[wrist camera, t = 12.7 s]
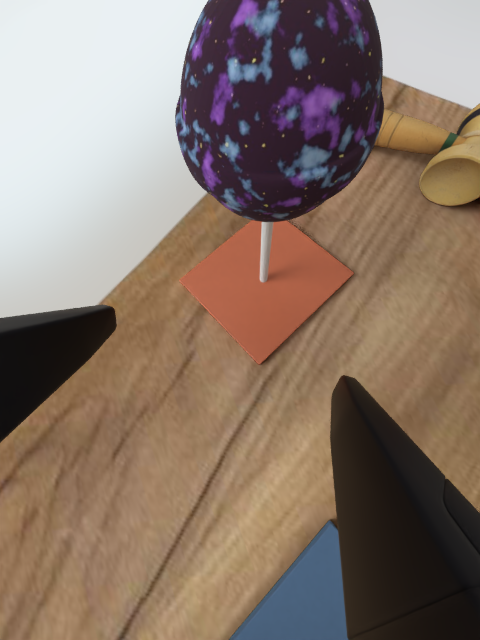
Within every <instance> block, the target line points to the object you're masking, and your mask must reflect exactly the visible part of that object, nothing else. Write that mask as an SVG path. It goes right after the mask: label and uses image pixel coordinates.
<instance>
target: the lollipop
mask: <svg viewBox="0 0 480 640" xmlns="http://www.w3.org/2000/svg"><path fill="white" fill-rule="evenodd" d="M382 68H383V67H382V50H381V42H380V35H379V30H378V26H377V23H376V19H375V16H374V13H373V10H372V8H371V5H370V2H369V0H208V2H207V4H206V5H205V7H204V9H203V11H202V12H201V15H200V17H199V19H198V21H197V23H196V26H195V28H194V30H193V33H192V36H191V38H190V42H189V45H188V48H187V52H186V56H185V61H184V67H183V72H182V79H181V95H180V97H179V100H178V103H177V108H176V115H175V118H176V130H177V136H178V141H179V144H180V148H181V151H182V154H183V157H184V160H185V162H186V164H187V166H188V168H189V170H190V172H191V174H192V176H193V177H194V178H195V180H196V181H197V182H198V184H199V185H200V186H201V187H202V188H203V189H204V190H206V191H207V192H208V193H209V194H211V195H212V196H213V197H215V198H216V199H217V200H218V201H219V202H220V203H221V204H222V205H224V206H225V207H226V208H228V209H229V210H231V211H232V212H234V213H236V214H238V215H240V216H242V217H244V218H247V219H250V220H254V221H260V222H262V228H261V255H260V281H261V282H266V281H267V278H268V268H269V259H270V249H271V240H272V231H273V222H280V221H286V220H290V219H293V218H296V217H299V216H301V215H303V214H306V213H308V212H309V211H311V210H313V209H314V208H316V207H318V206H319V205H321V204H322V203H323V202H324V201H326V200H327V199H329V198H331V197H332V196H334V195H336V194H337V193H338V192H340V191H341V190H342V189H344V188H345V187H346V186H347V185H348V184H349V183H350V182H351V181H352V180H353V179H354V178H355V177H356V175H357V174H358V173H359V171H360V170H361V168H362V167H363V165H364V164H365V162H366V160H367V158H368V156H369V155H370V153H371V151H372V149H373V147H374V144H375V142H376V139H377V137H378V134H379V131H380V128H381V125H382V121H383V114H384V101H383V96H382V92H381V88H382V72H383V71H382V70H383V69H382Z"/></svg>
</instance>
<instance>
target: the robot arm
mask: <svg viewBox="0 0 480 640" xmlns="http://www.w3.org/2000/svg"><path fill="white" fill-rule="evenodd" d="M116 326H117V324H116V315H115V310H114V308H113V307H110V306H107V305H96V306H89V307H81V308H73V309H66V310H58V311H51V312H43V313H36V314H28V315H21V316H13V317H6V318H0V442H1V441H2V440H3V439H5V438H6V437H7V436H8V435H9V434H10V433H11V432H12V431H13V430H14V429H15V428H16V427H17V426H18V425H20V424H21V423H22V422H23V421H24V420H25V419H26V418H27V417H28V416H29V415H30V414H31V413H32V412H33V411H34V410H36V409H37V408H38V407H39V406H40V405H41V404H42V403H43V402H44V401H45V400H46V399H47V398H48V397H49V396H51V395H52V394H53V393H54V392H55V391H56V390H57V389H58V388H59V387H60V386H61V385H62V384H63V383H64V382H65V381H67V380H68V379H69V378H70V377H71V376H72V375H73V374H74V373H75V372H76V371H77V370H78V369H79V368H80V367H81V366H83V365H84V364H85V363H86V362H87V361H88V360H89V359H90V358H91V357H92V356H93V355H94V353H95V352H96V351H97V350H98V349H99V348H100V347H101V346H102V344H103V343H104V342H105V341H106V340H107V339H108V338H109V337H110V335H111V334H112V333H113V332H114V331H115V329H116ZM330 441H331V454H332V466H333V478H334V489H335V501H336V513H337V524H338V536H339V548H340V559H341V571H342V583H343V594H344V606H345V618H346V629H347V638H348V640H480V513H479V512H478V511H477V510H476V509H475V508H474V507H473V505H472V504H471V503H470V502H469V501H468V500H467V499H466V498H465V497H464V496H463V495H462V494H461V493H460V492H459V491H458V489H457V488H456V487H455V486H454V485H453V484H452V483H451V482H450V481H449V480H448V479H445V475H444V474H443V473H442V472H441V471H440V470H439V469H438V468H437V467H436V466H435V465H434V463H433V462H432V461H431V460H430V459H429V458H428V457H427V456H426V455H425V454H424V453H423V452H422V450H421V449H420V448H419V447H418V446H417V445H416V444H415V443H414V442H413V441H412V440H411V438H410V437H409V436H408V435H407V434H406V433H405V432H404V431H403V430H402V429H401V428H400V427H399V425H398V424H397V423H396V422H395V421H394V420H393V419H392V418H391V417H390V416H389V415H388V414H387V412H386V411H385V410H384V409H383V408H382V407H381V406H380V405H379V404H378V403H377V402H376V400H375V399H374V398H373V397H372V396H371V395H370V394H369V393H368V392H367V391H366V390H365V389H364V387H363V386H362V385H361V384H360V383H359V382H358V381H357V380H356V379H355V378H352V377H349V376H345V375H343V376H341V377H340V379H339V381H338V383H337V385H336V387H335V389H334V391H333V393H332V401H331V431H330Z"/></svg>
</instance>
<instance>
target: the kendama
mask: <svg viewBox="0 0 480 640" xmlns="http://www.w3.org/2000/svg"><path fill="white" fill-rule="evenodd" d="M374 145H375V146H381V147H386V148H387V147H389V148H391V149H396V150H401V151H408V152H415V153H425V154H436V156H435V157H434V158H433V159H432V160H431V161H430V162H429V163H428V165H427V166H426V168H425V169H424V171H423V172H422V174H421V176H420V181H419V187H420V190H421V192H422V194H423V195H424V196H425V197H426V198H427V199H428V200H430V201H432V202H434V203H436V204H439V205H445V206H455V205H462V204H466V203H469V202H471V201H473V200H475V199H477V198H478V197H479V198H480V104H478V105H477V106H476V107H475V108H474V109H472V110H471V112H470V113H469V114H468V115H467V116H466V117H465V118H464V120H463V121H462V122H461V124H460V126H459V127H458V130H457V134H454V133H452V132H449V131H447V130H445V129H442V128H440V127H438V126H435V125H433V124H430V123H428V122H425V121H422V120H419V119H416V118H413V117H410V116H404V115H402V114H399V113H394V112H392V111H389V110H384V114H383V121H382V125H381V128H380V131H379V134H378V137H377V139H376V142H375V144H374Z"/></svg>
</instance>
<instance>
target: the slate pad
mask: <svg viewBox="0 0 480 640" xmlns="http://www.w3.org/2000/svg"><path fill="white" fill-rule="evenodd" d="M229 640H348V638H347V629H346V618H345V606H344V594H343V583H342V571H341V559H340V548H339V536H338V529H337V528H336V526H335V525H334V524H333V523H332V522H331V521H330V520H329V521H328V522H327V523H326V524H325V526H324V527H323V528H322V529H321V530H320V532H319V533H318V534H317V535H316V536H315V538H314V539H313V540H312V541H311V542H310V544H309V545H308V546H307V547H306V548H305V550H304V551H303V552H302V553H301V554H300V555H299V557H298V558H297V559H296V560H295V561H294V563H293V564H292V565H291V566H290V567H289V569H288V570H287V571H286V572H285V573H284V575H283V576H282V577H281V578H280V579H279V580H278V582H277V583H276V584H275V585H274V586H273V588H272V589H271V590H270V591H269V592H268V594H267V595H266V596H265V597H264V598H263V600H262V601H261V602H260V603H259V604H258V606H257V607H256V608H255V609H254V610H253V611H252V613H251V614H250V615H249V616H248V617H247V619H246V620H245V621H244V622H243V623H242V625H241V626H240V627H239V628H238V629H237V631H236V632H235V633H234V634H233V635H232V636H231V638H230V639H229Z"/></svg>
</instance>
